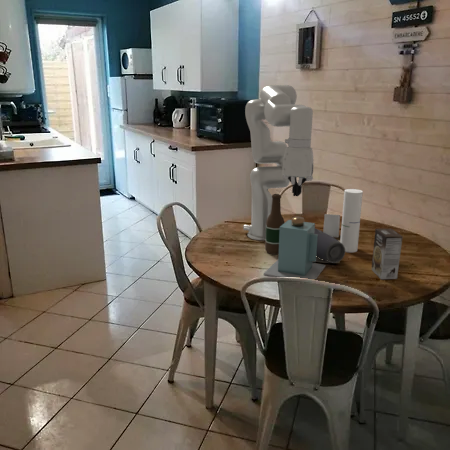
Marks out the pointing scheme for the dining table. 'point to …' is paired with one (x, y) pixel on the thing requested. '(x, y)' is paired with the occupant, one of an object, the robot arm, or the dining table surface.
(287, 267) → the teal block
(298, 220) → the shiny round knob
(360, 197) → the cylindrical container
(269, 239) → the beer bottle
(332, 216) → the light grey block
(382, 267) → the coffee box
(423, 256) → the dining table surface
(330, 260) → the bluetooth speaker
